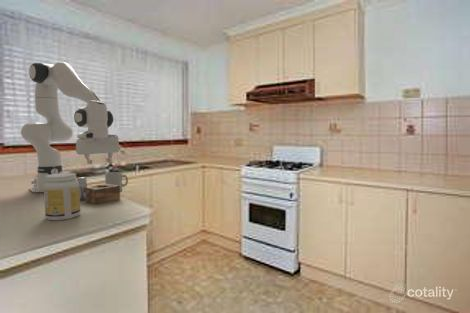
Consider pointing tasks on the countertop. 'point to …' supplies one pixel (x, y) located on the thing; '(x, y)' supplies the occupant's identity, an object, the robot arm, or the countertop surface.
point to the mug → (115, 179)
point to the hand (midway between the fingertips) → (99, 162)
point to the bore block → (102, 193)
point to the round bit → (82, 187)
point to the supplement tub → (61, 196)
